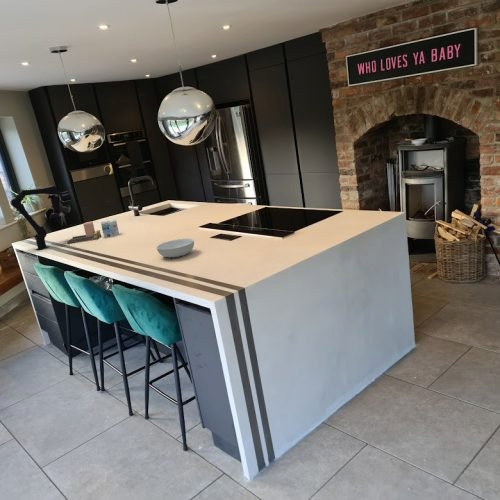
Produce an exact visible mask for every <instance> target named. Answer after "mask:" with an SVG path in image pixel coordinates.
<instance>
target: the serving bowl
mask: <svg viewBox="0 0 500 500" xmlns="http://www.w3.org/2000/svg"><path fill="white" fill-rule="evenodd" d="M194 246H195V240H194V239H192V238H177V239H172V240H168V241H164V242H162V243H160V244H158V245H157V246H156V251H157V252H158V254H159V255H161V257H165V258H171V257H172V258H171V259H175V258H174V257H176V258H180V256H181V257H183V256H185V255H187V254H189V253H190V252H191V251H193V248H194Z"/></svg>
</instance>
